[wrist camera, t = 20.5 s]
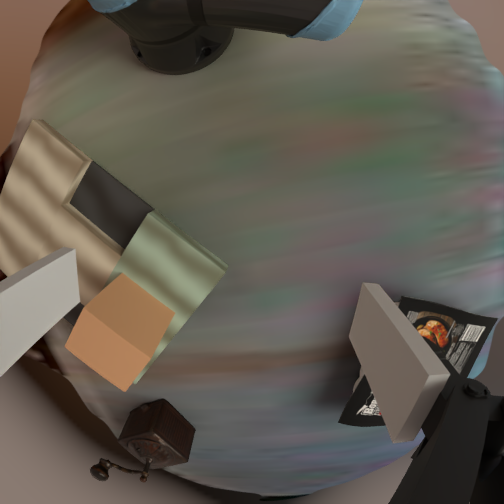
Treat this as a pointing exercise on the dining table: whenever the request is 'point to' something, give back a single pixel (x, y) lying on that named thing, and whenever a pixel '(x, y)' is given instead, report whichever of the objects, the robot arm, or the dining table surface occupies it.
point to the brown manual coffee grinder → (152, 439)
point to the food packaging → (438, 331)
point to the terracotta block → (119, 331)
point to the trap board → (97, 230)
